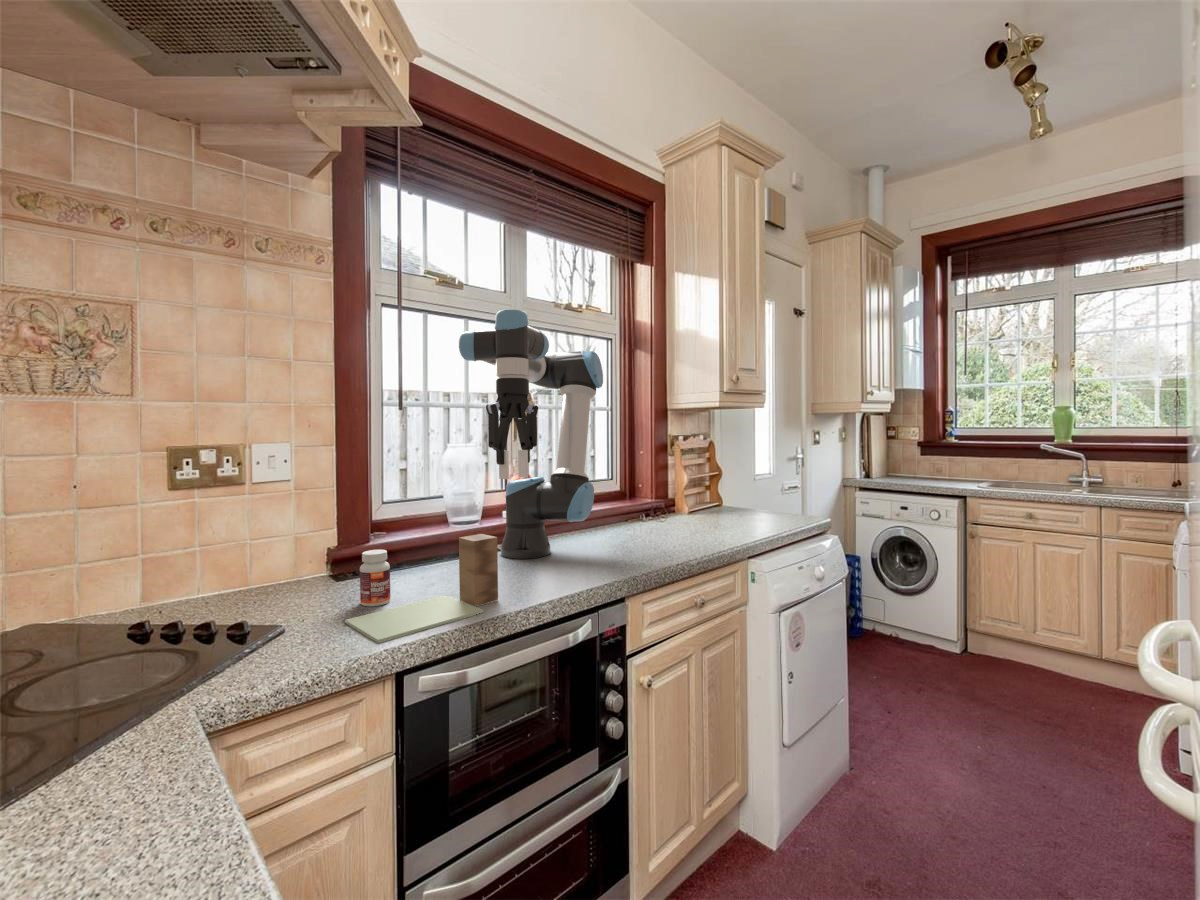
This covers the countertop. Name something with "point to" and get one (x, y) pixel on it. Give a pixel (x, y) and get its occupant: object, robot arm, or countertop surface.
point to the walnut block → (478, 569)
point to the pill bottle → (374, 578)
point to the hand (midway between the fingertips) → (513, 477)
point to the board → (412, 618)
